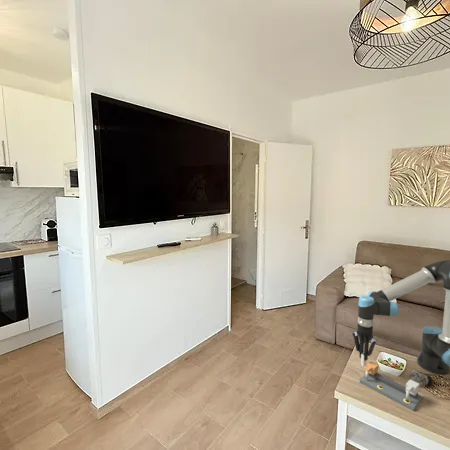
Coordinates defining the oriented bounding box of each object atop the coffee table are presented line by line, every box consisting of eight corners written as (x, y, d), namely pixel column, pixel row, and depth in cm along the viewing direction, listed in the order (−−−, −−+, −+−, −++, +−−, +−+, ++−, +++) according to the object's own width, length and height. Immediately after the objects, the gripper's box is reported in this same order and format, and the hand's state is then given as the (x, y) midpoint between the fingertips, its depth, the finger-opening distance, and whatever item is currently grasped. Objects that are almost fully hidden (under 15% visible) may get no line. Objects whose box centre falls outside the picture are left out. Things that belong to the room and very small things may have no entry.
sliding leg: (370, 370, 152) (370, 361, 151) (377, 374, 149) (378, 364, 148) (362, 377, 146) (362, 367, 146) (370, 381, 143) (370, 371, 142)
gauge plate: (369, 373, 153) (370, 360, 152) (422, 399, 133) (423, 384, 133) (359, 382, 146) (360, 368, 145) (413, 411, 126) (414, 395, 125)
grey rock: (426, 382, 149) (434, 392, 140) (403, 374, 152) (410, 383, 143) (429, 371, 149) (438, 380, 139) (406, 363, 152) (413, 371, 143)
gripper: (350, 322, 153) (348, 361, 155) (374, 331, 142) (372, 373, 145) (356, 318, 157) (355, 357, 160) (380, 326, 147) (378, 367, 149)
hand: (363, 364), depth 152 cm, fingers closed
